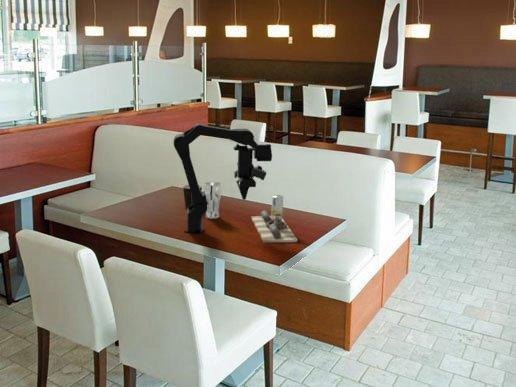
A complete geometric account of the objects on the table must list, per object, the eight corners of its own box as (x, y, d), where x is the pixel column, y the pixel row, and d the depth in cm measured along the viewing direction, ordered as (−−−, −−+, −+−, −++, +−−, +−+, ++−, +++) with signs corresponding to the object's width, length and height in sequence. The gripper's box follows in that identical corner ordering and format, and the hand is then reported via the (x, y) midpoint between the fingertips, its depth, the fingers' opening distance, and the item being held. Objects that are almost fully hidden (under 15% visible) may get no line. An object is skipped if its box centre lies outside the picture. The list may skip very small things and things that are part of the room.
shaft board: (297, 241, 223) (297, 232, 222) (264, 242, 221) (264, 233, 220) (280, 217, 254) (280, 209, 253) (251, 218, 252) (251, 209, 251)
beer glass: (201, 217, 250) (201, 183, 247) (209, 213, 256) (210, 180, 253) (214, 220, 247) (215, 186, 243) (223, 216, 253) (223, 183, 249)
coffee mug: (192, 204, 271) (192, 183, 268) (205, 207, 265) (206, 186, 263) (174, 208, 262) (174, 187, 259) (187, 212, 257) (187, 190, 254)
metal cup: (284, 228, 237) (285, 197, 233) (274, 229, 234) (275, 198, 231) (278, 224, 241) (280, 194, 237) (268, 225, 238) (270, 195, 235)
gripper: (269, 166, 220) (268, 205, 224) (261, 156, 238) (259, 193, 242) (240, 166, 219) (239, 205, 222) (234, 156, 236) (233, 193, 240)
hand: (244, 199), depth 232 cm, fingers closed
